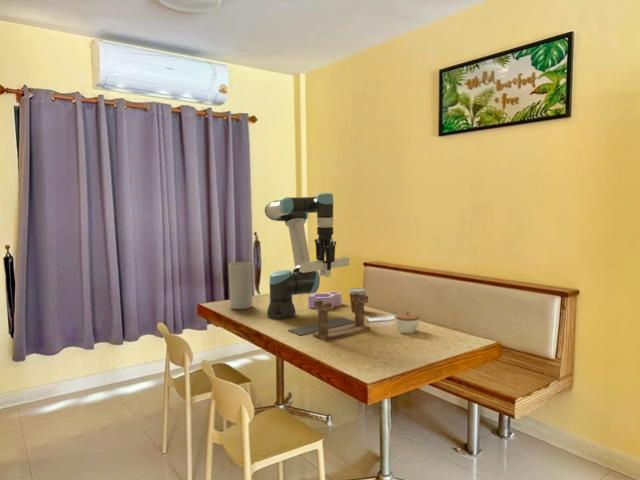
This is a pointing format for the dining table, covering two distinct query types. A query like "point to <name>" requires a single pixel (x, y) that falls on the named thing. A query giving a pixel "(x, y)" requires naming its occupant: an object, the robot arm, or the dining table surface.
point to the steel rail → (322, 264)
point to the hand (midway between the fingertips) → (325, 275)
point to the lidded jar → (407, 322)
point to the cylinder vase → (240, 285)
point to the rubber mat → (314, 327)
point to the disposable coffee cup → (357, 291)
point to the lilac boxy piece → (326, 299)
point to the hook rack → (345, 329)
